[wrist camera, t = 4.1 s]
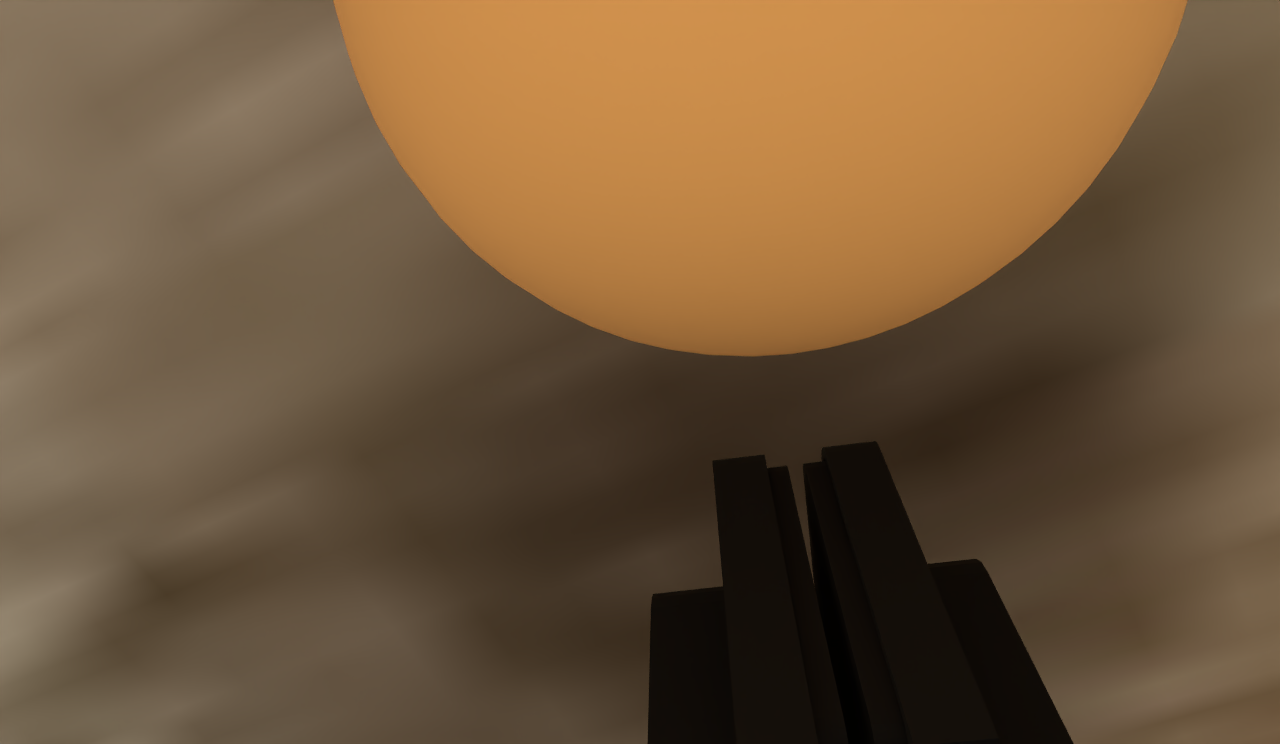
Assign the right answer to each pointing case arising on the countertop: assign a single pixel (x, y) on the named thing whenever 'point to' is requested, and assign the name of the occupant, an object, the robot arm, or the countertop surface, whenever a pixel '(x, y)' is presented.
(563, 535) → the countertop surface
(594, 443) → the countertop surface
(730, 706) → the robot arm
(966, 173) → the ball
